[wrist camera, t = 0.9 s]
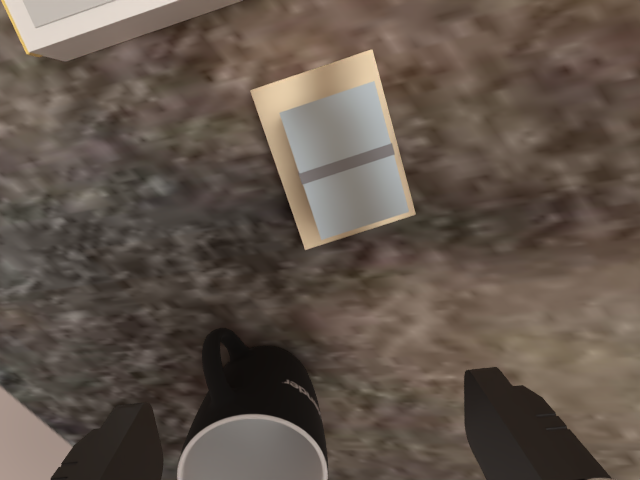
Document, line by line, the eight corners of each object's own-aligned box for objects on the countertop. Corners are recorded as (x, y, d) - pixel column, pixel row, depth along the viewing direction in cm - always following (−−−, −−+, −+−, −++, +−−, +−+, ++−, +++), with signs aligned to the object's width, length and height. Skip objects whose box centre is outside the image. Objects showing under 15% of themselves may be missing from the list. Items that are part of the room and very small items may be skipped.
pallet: (366, 55, 29) (392, 29, 21) (407, 207, 32) (444, 237, 24) (253, 92, 29) (236, 81, 21) (304, 240, 32) (306, 280, 24)
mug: (337, 402, 36) (351, 507, 26) (239, 441, 37) (218, 557, 27) (277, 279, 33) (268, 346, 23) (172, 323, 33) (119, 407, 24)
